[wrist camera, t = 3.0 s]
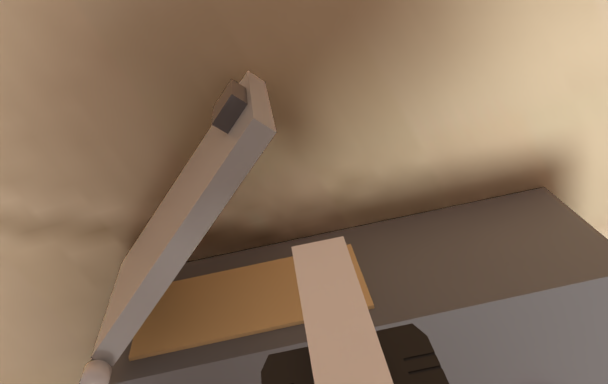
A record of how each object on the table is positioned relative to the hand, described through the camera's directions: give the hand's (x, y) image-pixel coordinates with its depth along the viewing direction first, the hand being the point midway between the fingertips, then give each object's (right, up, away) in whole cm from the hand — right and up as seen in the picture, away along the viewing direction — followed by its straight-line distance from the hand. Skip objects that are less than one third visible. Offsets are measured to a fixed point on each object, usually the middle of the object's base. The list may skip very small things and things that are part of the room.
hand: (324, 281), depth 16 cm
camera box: (0, -3, +11) cm, 12 cm away
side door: (-6, +3, +7) cm, 9 cm away
